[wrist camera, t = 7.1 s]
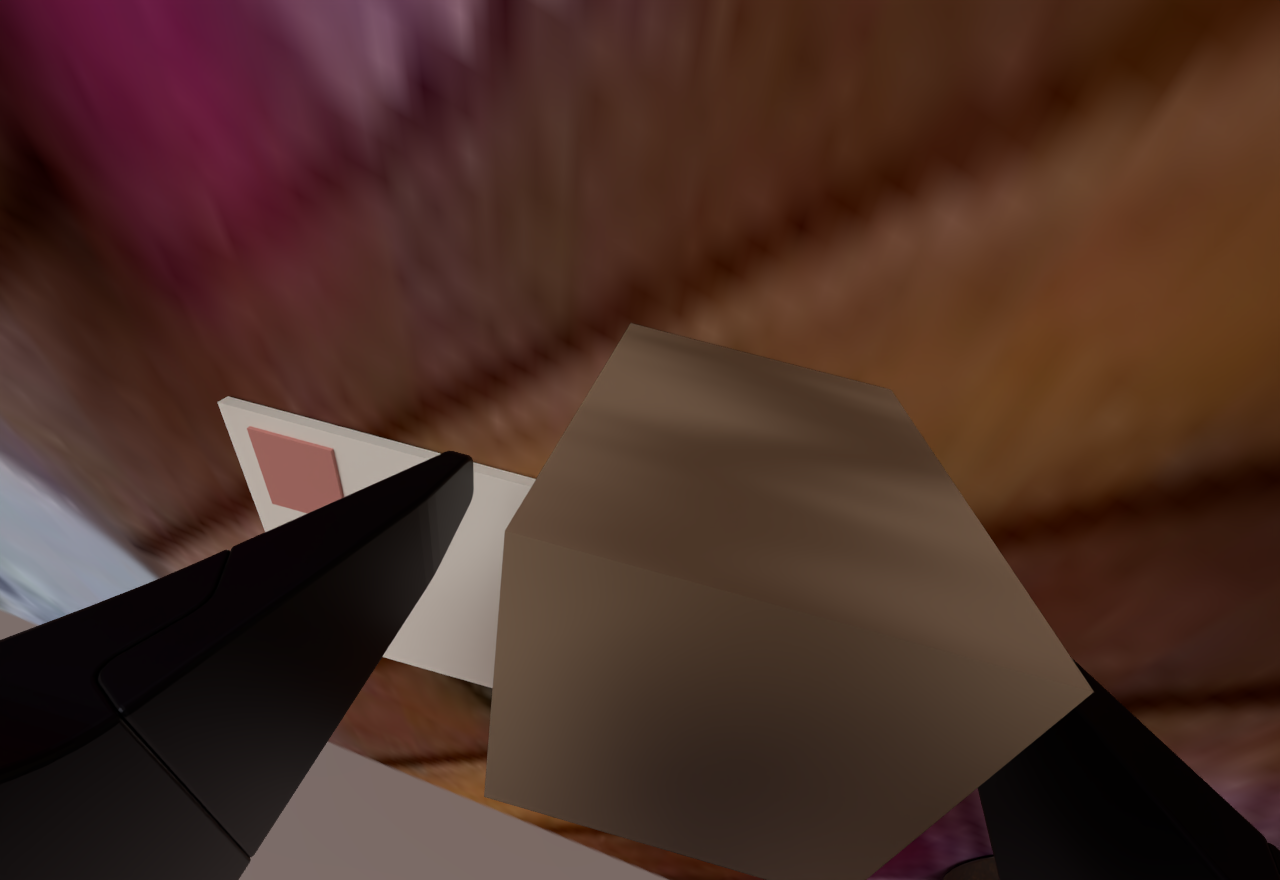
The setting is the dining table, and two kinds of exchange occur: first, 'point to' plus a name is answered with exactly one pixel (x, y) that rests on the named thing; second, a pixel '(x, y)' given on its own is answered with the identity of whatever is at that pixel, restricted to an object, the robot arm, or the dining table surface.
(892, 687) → the walnut block
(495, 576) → the letter
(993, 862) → the plant pot
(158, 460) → the dining table surface
